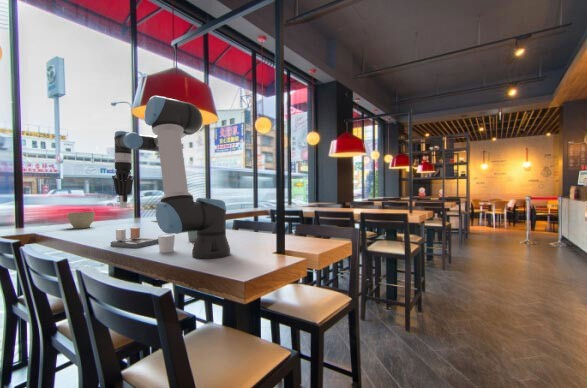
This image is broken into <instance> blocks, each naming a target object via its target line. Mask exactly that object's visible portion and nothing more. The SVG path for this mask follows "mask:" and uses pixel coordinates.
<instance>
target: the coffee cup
mask: <svg viewBox="0 0 587 388" xmlns="http://www.w3.org/2000/svg"><path fill="white" fill-rule="evenodd" d="M187 237H188V242H190V243H195V240H196V237H197V231H192V232H187Z"/></svg>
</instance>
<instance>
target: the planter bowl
mask: <svg viewBox="0 0 587 388" xmlns="http://www.w3.org/2000/svg"><path fill="white" fill-rule="evenodd" d="M95 214H96V212H95V211H78V212H67V213H66V216H67V220H68V222H69V224H70V226H72V227H73V229H85V228H86V229H88V228H90V227H91V225H92V223H93V222H94V220H95Z"/></svg>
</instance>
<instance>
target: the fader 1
mask: <svg viewBox="0 0 587 388" xmlns="http://www.w3.org/2000/svg"><path fill="white" fill-rule="evenodd" d="M126 231H127V229H124V228H122V229H121V228H120V229H119V228H118V229H115V241H116V240H126V239H127V238H126V237H127V236H126V233H127V232H126Z"/></svg>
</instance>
